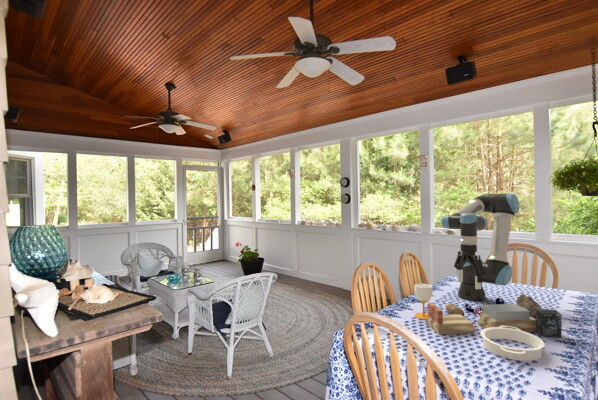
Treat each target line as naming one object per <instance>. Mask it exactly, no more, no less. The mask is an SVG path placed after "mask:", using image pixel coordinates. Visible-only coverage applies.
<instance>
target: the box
mask: <svg viewBox="0 0 598 400" xmlns="http://www.w3.org/2000/svg"><path fill="white" fill-rule="evenodd" d="M562 316H563V315H562V313H560V312H559V311H557V309H544V308H543V309H542V308H541V309H536V315H535V319H536V331H535V332H536V333H537V334H538V335H539V336H540V337H550V338H562V330H563V329H562V326H563V325H562Z"/></svg>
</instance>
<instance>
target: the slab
mask: <svg viewBox="0 0 598 400" xmlns="http://www.w3.org/2000/svg"><path fill="white" fill-rule="evenodd" d="M482 312H483V313H484V314H486V315H487V316H489V317H491V318H492V319H494V320H495V321H500V320H530V311H529V310H527V309H525V308H523V307H521V306H518V305H517V303H504V304H503V303H500V304H499V303H498V304H482Z"/></svg>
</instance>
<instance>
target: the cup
mask: <svg viewBox="0 0 598 400" xmlns="http://www.w3.org/2000/svg"><path fill="white" fill-rule="evenodd" d="M433 291H434V290H433V286H432V285H431V284H429V283H416V284H414V294H415V297H416V299H417V301H419V303H421V304H422V312H417V313H414V317H415V318H417V319H418V320H419V319H420V320H427V321H428V312H427V313H426V312H425V311H426V310H425V303H429V302H430V300H431V299H432V296H433V293H434V292H433Z"/></svg>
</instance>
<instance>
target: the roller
mask: <svg viewBox="0 0 598 400" xmlns="http://www.w3.org/2000/svg"><path fill="white" fill-rule="evenodd" d="M445 310H446V312H448V313H449V314H461V315H462V316H463V317H465V311H464V310H462V309H461V308H460V307H458V306H457V305H455V304H454V303H452V302H449V303H447V304H446V305H445Z"/></svg>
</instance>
